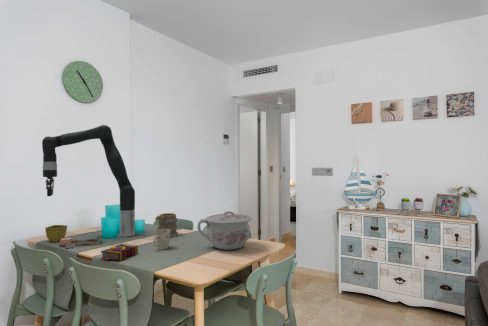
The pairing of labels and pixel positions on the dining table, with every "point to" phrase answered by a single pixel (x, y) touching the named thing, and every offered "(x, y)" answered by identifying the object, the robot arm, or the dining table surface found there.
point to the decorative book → (119, 252)
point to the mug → (162, 238)
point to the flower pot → (56, 232)
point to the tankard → (168, 223)
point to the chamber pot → (227, 230)
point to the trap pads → (73, 246)
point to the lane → (99, 239)
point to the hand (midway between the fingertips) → (50, 195)
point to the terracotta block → (65, 241)
